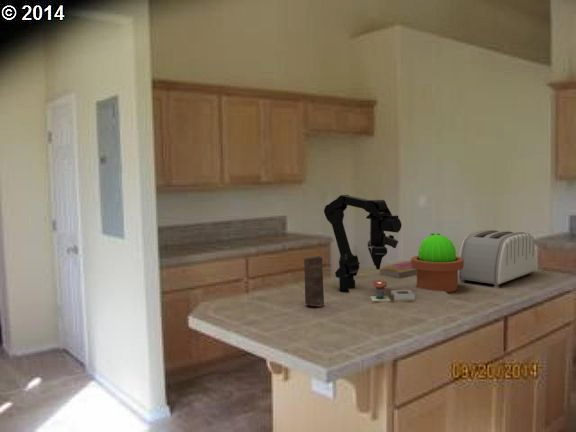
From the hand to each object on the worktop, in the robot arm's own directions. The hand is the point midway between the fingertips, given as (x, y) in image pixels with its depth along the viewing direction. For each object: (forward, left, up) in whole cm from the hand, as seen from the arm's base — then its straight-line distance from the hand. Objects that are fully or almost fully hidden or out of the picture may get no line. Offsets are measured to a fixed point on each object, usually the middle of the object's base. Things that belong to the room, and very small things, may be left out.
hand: (376, 267), depth 224 cm
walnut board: (+4, -10, -13) cm, 17 cm away
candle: (-27, -13, -13) cm, 32 cm away
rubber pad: (0, -10, -11) cm, 15 cm away
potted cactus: (+28, +13, -13) cm, 34 cm away
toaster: (+64, +34, -13) cm, 73 cm away
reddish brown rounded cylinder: (0, -10, -11) cm, 15 cm away
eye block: (+9, -10, -11) cm, 17 cm away
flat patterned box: (+25, +51, -13) cm, 59 cm away
